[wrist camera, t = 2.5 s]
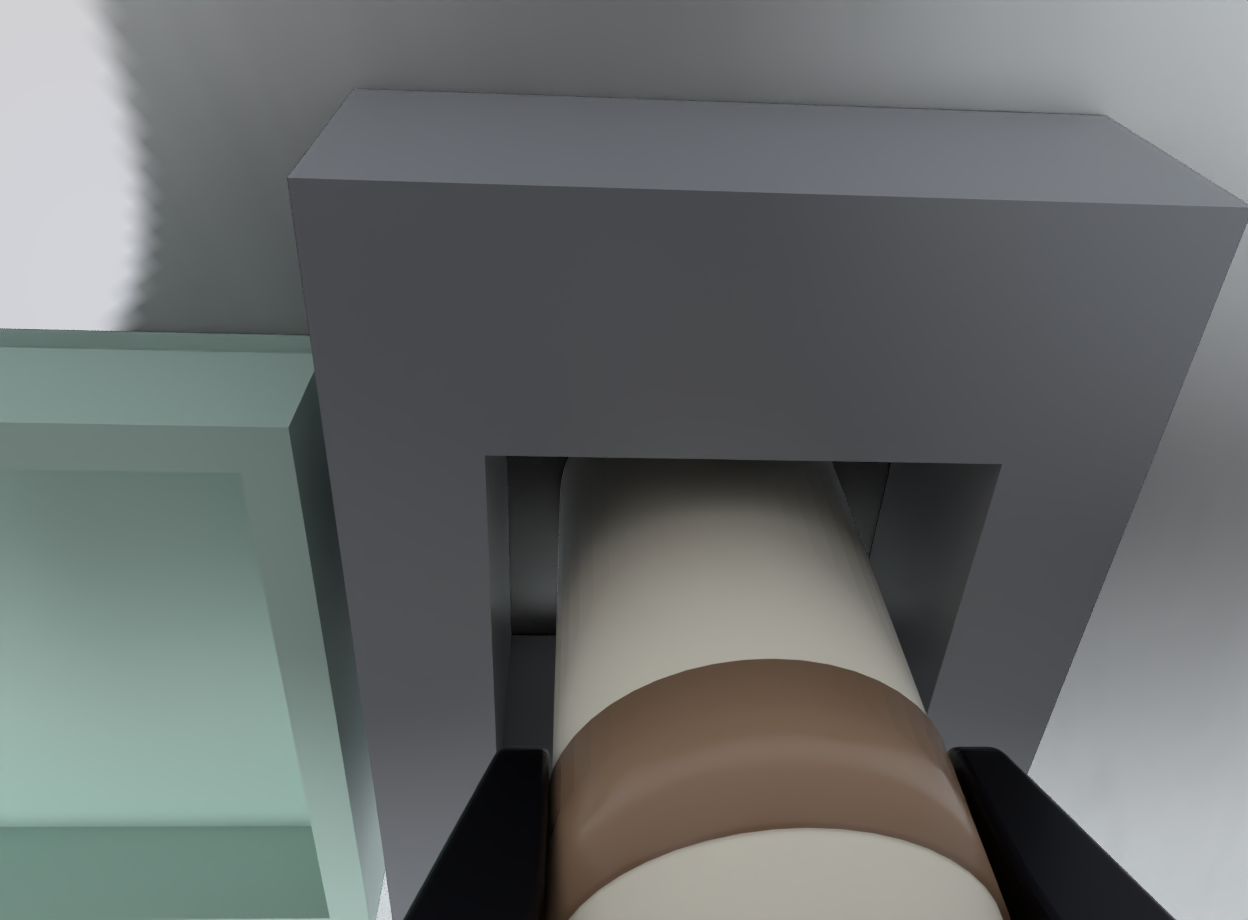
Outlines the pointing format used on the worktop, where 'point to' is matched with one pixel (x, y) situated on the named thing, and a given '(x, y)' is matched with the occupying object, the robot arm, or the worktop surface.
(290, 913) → the parts tray
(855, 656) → the fuse
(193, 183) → the worktop surface
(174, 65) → the worktop surface
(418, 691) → the fuse holder
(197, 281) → the worktop surface
